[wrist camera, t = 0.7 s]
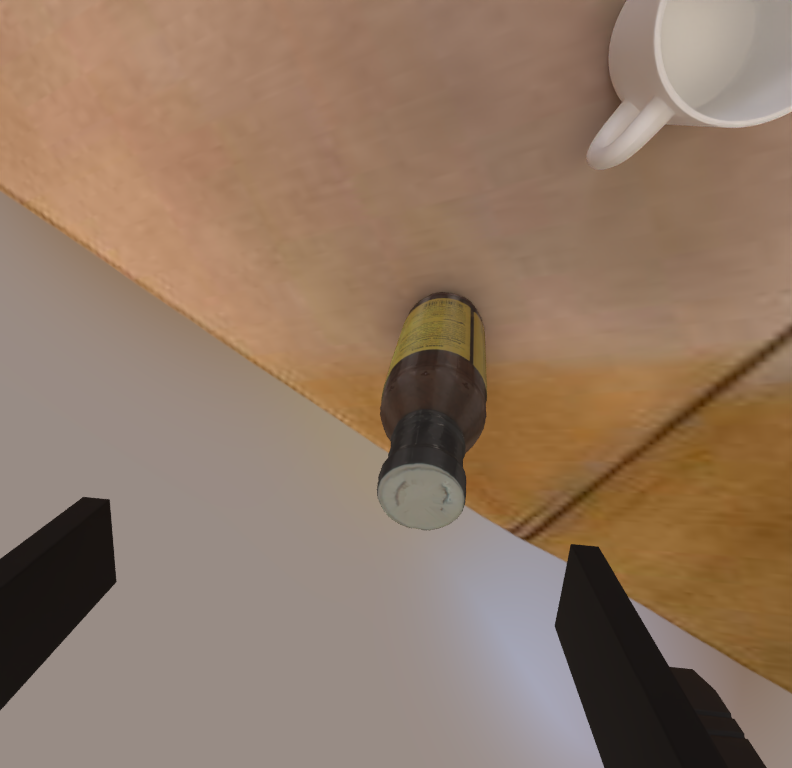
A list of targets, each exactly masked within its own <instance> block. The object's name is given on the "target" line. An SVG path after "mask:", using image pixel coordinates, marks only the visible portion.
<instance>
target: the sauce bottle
mask: <svg viewBox="0 0 792 768" xmlns="http://www.w3.org/2000/svg"><path fill="white" fill-rule="evenodd" d="M486 401H487V381H486V355H485V333H484V327H483V324H482V320H481V317H480V315H479V313H478V311H477V309H476V308H475V307H474V305H473V304H472V303H471V302H470V301H469V300H468V299H466V298H464V297H461V296H459V295H456V294H452V293H444V292H440V293H435V294H432V295H430V296H428V297H426V298H424V299H422V300H420V301H419V302H418V303H417V304H416V305H415V306H414V307H413V309H412V310H411V311H410V313H409V316H408V317H407V319H406V320H405V323H404V325H403V328H402V331H401V334H400V337H399V339H398V343H397V346H396V349H395V352H394V355H393V358H392V361H391V365H390V368H389V371H388V375H387V378H386V382H385V385H384V388H383V393H382V399H381V407H380V410H381V412H380V416H381V421H382V424H383V427H384V430H385V433H386V435H387V437H388V438H389V440H390V441H391V448H390V452H389V454H388V459H387V460H386V461H385V463H384V464H383V465H382V468H381V471H380V474H379V477H378V478H379V481H378V487H377V496H378V499H379V502H380V504H381V507H382V508H383V510H384V511H385V512H386V513H387V515H388V516H389V517H390V518H391V519H392V520H394V521H395V522H397V523H398V524H400V525H403V526H406V527H409V528H416V529H421V530H433V529H438V528H441V527H444V526H446V525H448V524H450V523H452V522H453V521H454V520H455V519H457V518H458V517H459V515H460V514H461V512H462V511H463V508H464V505H465V498H466V475H465V471H464V469H463V458H464V456H465V453H466V452H467V451H469V449H470V448H471V447H472V446H473V445H474V444H475V442H476V441H477V439H478V438H479V436H480V434H481V433H482V430H483V429H484V424H485V419H486Z"/></svg>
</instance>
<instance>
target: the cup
mask: <svg viewBox="0 0 792 768" xmlns="http://www.w3.org/2000/svg"><path fill="white" fill-rule="evenodd" d="M608 63H609V73H610V78H611V81H612V85H613V87H614V90H615V92H616V93H617V95H618V97H619V99H620V100H621V101H622V103H621V104H620V106H619V107H618V108H617V109H616V110H615V112H614V113H613V114H612V115H611V117H610V118H609V119H608V120H607V122H606V123H605V124H604V125H603V127H602V128H601V129H600V131H599V132H598V134H597V135H596V136H595V138H594V139H593V141H592V143H591V144H590V146H589V149H588V152H587V162H588V164H589V166H590V167H592V168H593V169H597V170H605V169H609V168H612V167H614V166H617V165H619V164H621V163H622V162H624V161H626V160H627V159H628V158H630V157H631V156H632V155H634V154H635V153H636V152H637V151H638V150H640V149H641V148H642V147H643V146H644V145H645V144H646V143H647V142H648V141H649V140H650V139H651V138H652V137H653V136H654V135H655V134H656V133H657V132H658V131H659V130H660V129H661V128H662V127H663V126H664V125H665V124H668V125H685V126H703V127H720V128H742V127H749V126H755V125H759V124H763V123H766V122H769V121H772V120H775V119H777V118H780V117H782V116H784V115H786V114H788V113H790V112H792V0H627V1H626V2H625V4H624V6H623V8H622V10H621V11H620V14H619V16H618V18H617V20H616V23H615V26H614V29H613V32H612V36H611V40H610V45H609V55H608Z"/></svg>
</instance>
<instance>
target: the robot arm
mask: <svg viewBox="0 0 792 768" xmlns="http://www.w3.org/2000/svg"><path fill="white" fill-rule="evenodd" d="M115 583H116V572H115V560H114V547H113V536H112V524H111V512H110V500H109V499H99V498H88V497H83V498H81V499H80V500H79V501H77V502H76V503H75V504H73V505H72V506H71V507H69V508H68V509H67V510H65V511H64V512H63V513H61V514H60V515H59V516H57V517H56V518H55V519H53V520H52V521H51V522H49V523H48V524H46V525H45V526H44V527H42V528H41V529H40V530H38V531H37V532H36V533H34V534H33V535H32V536H31V537H29V538H28V539H26V540H25V541H24V542H23V543H21V544H20V545H18V546H17V547H16V548H15V549H13V550H12V551H10V552H9V553H8V554H6V555H5V556H4V557H2V558H1V559H0V710H1V709H2V708H3V707H4V706H5V705H6V704H7V702H8V701H9V700H10V699H11V698H12V697H13V696H14V695H15V694H16V692H17V691H18V690H19V689H20V688H21V687H22V686H23V684H24V683H25V682H26V681H27V680H28V679H29V678H30V677H31V676H32V675H33V673H35V671H36V670H37V669H38V668H39V667H40V666H41V665H42V664H43V663H44V661H45V660H46V659H47V658H48V657H49V656H50V655H51V653H53V651H54V650H55V649H56V648H57V647H58V646H59V645H60V644H61V642H62V641H63V640H64V639H65V638H66V637H67V636H68V635H69V634H70V633H71V632H72V630H73V629H74V628H75V627H76V626H77V625H78V624H79V623H80V621H81V620H82V619H83V618H84V617H85V616H86V615H87V614H88V613H89V612H90V610H91V609H92V608H93V607H94V606H95V605H96V603H98V602H99V601H100V599H101V598H102V597H103V596H104V595H105V594H106V593H107V592H108V591H109V590H110V588H111V587H112V586H113V585H114V584H115ZM555 628H556V631H557V634H558V637H559V640H560V643H561V645H562V648H563V651H564V654H565V657H566V659H567V663H568V665H569V668H570V671H571V674H572V677H573V680H574V683H575V685H576V688H577V691H578V694H579V697H580V699H581V702H582V705H583V708H584V711H585V714H586V717H587V720H588V722H589V725H590V728H591V731H592V734H593V737H594V739H595V742H596V745H597V748H598V750H599V753H600V757H601V759H602V762H603V765H604V768H766V766H765V765H764V764H763V762H762V760H761V759H760V757H759V756H758V754H757V753H756V751H755V749H754V748H753V746H752V745H751V743H750V742H749V740H748V739H745V737H744V733H743V731H742V730H741V728H740V727H739V726H738V724H737V722H736V721H735V719H732V717H731V713H730V712H729V710H728V709H727V707H726V706H725V704H724V703H723V702H722V700H721V698H720V697H719V695H718V694H717V692H716V691H715V690H714V689H713V688H712V687H711V686H710V685H709V684H708V683H707V682H706V681H705V680H704V679H703V678H701V677H700V676H699V675H698V674H697V673H696V672H695V671H694V670H693V669H684V668H675V667H669V666H668V664H667V662H666V661H665V659H664V658H663V656H662V654H661V652H660V651H659V649H658V647H657V646H656V644H655V642H654V640H653V639H652V637H651V635H650V634H649V632H648V630H647V628H646V627H645V625H644V623H643V622H642V620H641V618H640V617H639V615H638V613H637V611H636V610H635V608H634V606H633V605H632V603H631V601H630V600H629V598H628V596H627V594H626V593H625V591H624V589H623V588H622V586H621V584H620V583H619V581H618V579H617V577H616V576H615V574H614V572H613V571H612V569H611V567H610V566H609V564H608V562H607V560H606V559H605V557H604V555H603V554H602V552H601V550H600V549H599V547H595V546H585V545H575V544H571V546H570V551H569V556H568V561H567V567H566V572H565V577H564V582H563V587H562V592H561V597H560V602H559V607H558V612H557V617H556V622H555Z"/></svg>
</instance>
